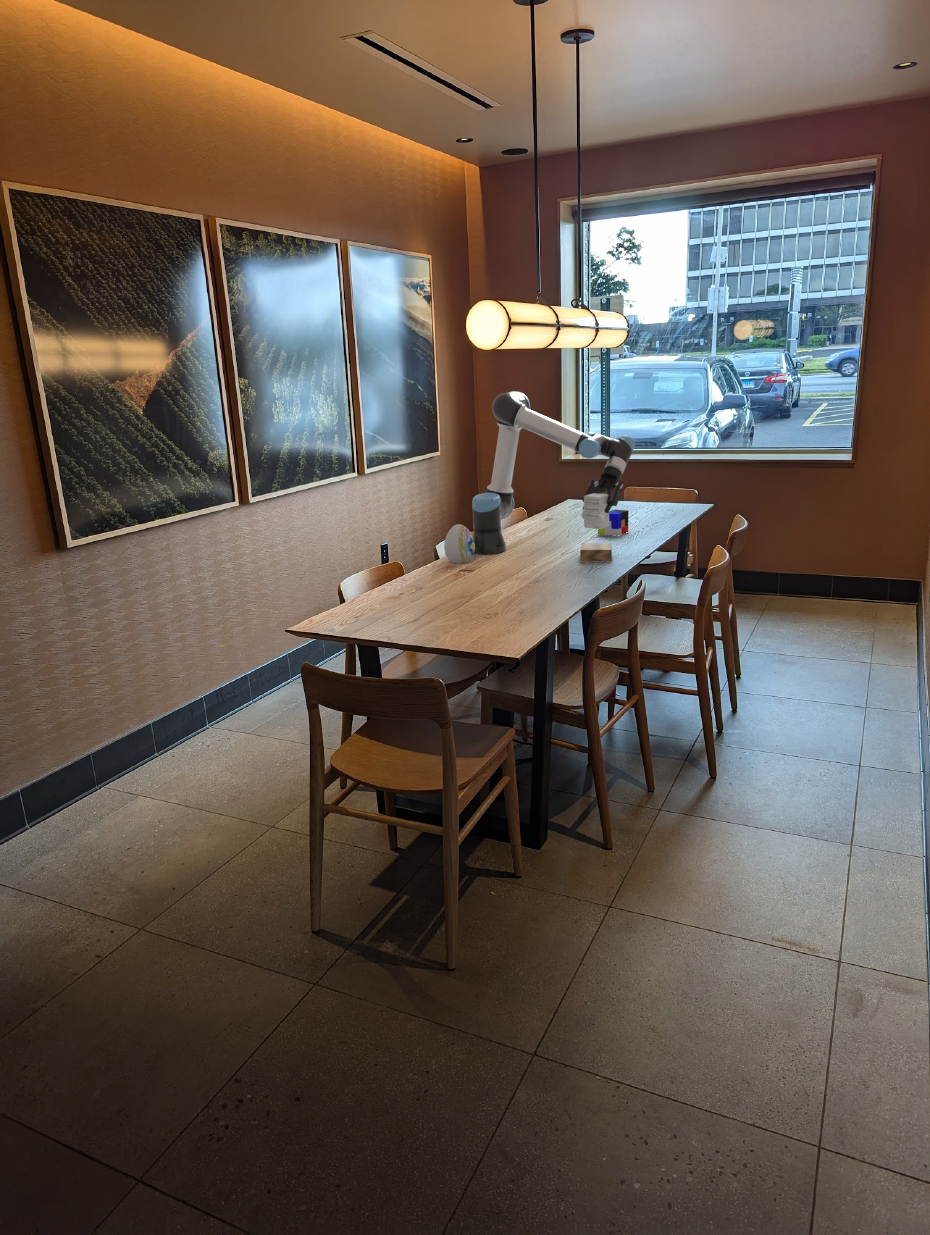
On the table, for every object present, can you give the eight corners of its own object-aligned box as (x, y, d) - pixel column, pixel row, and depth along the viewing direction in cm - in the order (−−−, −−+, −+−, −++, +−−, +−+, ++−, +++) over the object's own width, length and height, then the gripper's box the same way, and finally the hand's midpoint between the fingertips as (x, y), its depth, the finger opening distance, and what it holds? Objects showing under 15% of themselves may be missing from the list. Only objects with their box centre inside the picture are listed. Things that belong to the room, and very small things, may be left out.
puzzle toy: (617, 536, 369) (618, 514, 367) (597, 534, 375) (597, 512, 372) (628, 532, 377) (628, 510, 374) (608, 530, 383) (608, 509, 380)
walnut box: (580, 562, 327) (580, 550, 326) (581, 555, 339) (581, 543, 337) (611, 562, 325) (611, 549, 324) (611, 555, 337) (611, 543, 335)
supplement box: (593, 524, 333) (593, 492, 329) (609, 526, 329) (609, 493, 325) (583, 527, 328) (583, 495, 324) (600, 529, 323) (600, 496, 319)
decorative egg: (469, 565, 329) (468, 527, 325) (440, 564, 333) (438, 527, 329) (479, 558, 340) (477, 521, 336) (451, 557, 344) (449, 521, 340)
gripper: (639, 478, 328) (618, 526, 321) (594, 475, 340) (573, 521, 333) (633, 465, 322) (611, 514, 315) (587, 463, 335) (565, 510, 328)
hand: (591, 518), depth 324 cm, fingers closed on supplement box, 7 cm apart
